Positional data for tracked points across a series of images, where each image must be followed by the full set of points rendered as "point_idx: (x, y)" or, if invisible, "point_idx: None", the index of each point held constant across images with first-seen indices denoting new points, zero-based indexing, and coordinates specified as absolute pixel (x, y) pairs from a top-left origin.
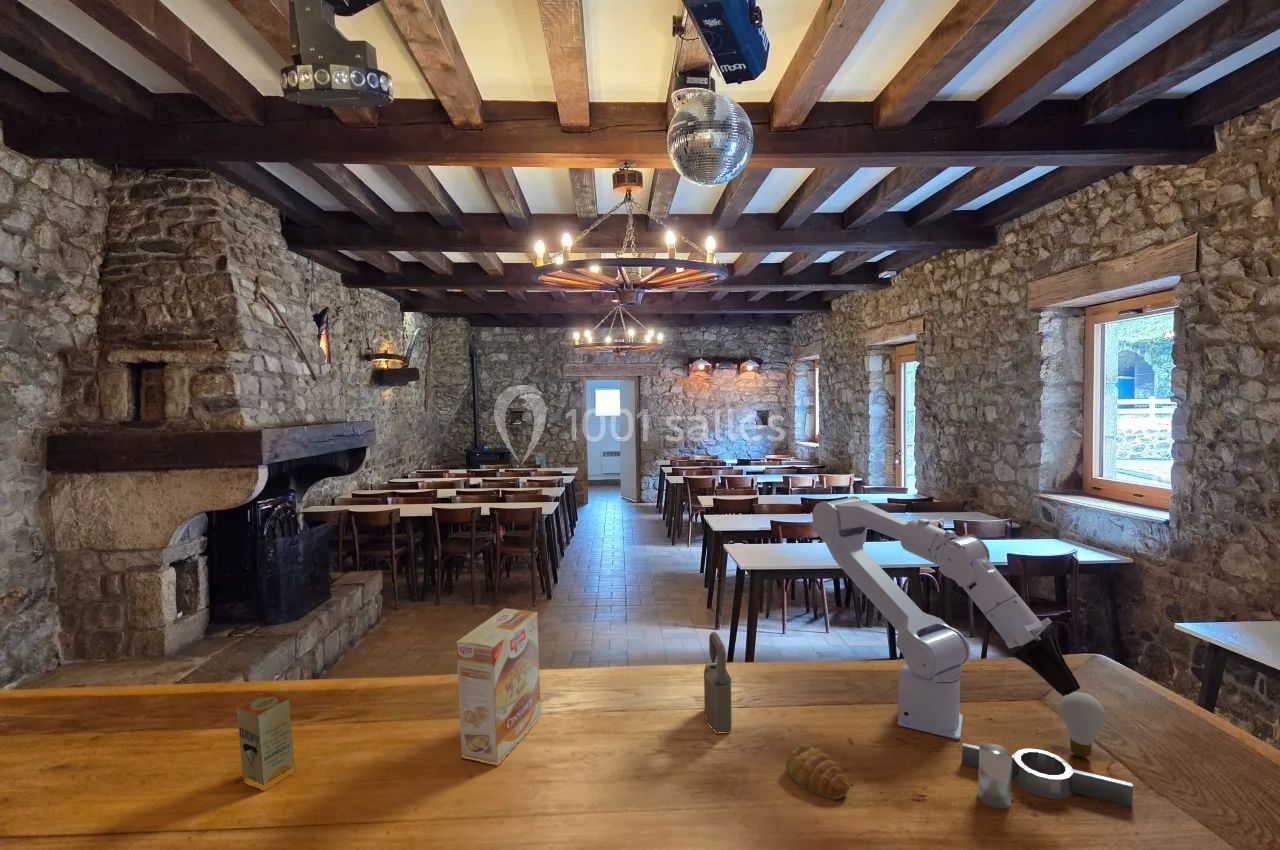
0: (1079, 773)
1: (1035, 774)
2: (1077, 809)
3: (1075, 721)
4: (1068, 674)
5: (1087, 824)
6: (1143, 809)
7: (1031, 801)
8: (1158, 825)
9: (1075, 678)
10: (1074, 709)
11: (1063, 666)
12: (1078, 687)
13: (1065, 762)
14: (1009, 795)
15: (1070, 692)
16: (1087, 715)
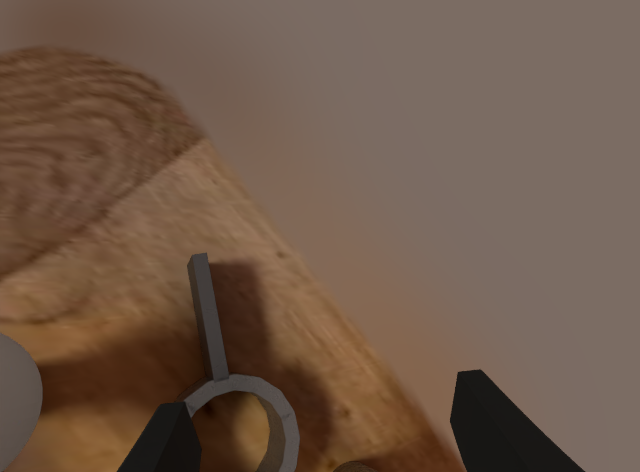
0: (224, 360)
1: (298, 445)
2: (276, 351)
3: (37, 418)
4: (533, 424)
5: (311, 327)
6: (192, 245)
7: (308, 432)
8: (232, 223)
9: (141, 445)
10: (9, 435)
11: (578, 468)
12: (186, 410)
13: (190, 401)
14: (368, 468)
15: (196, 440)
16: (23, 380)
